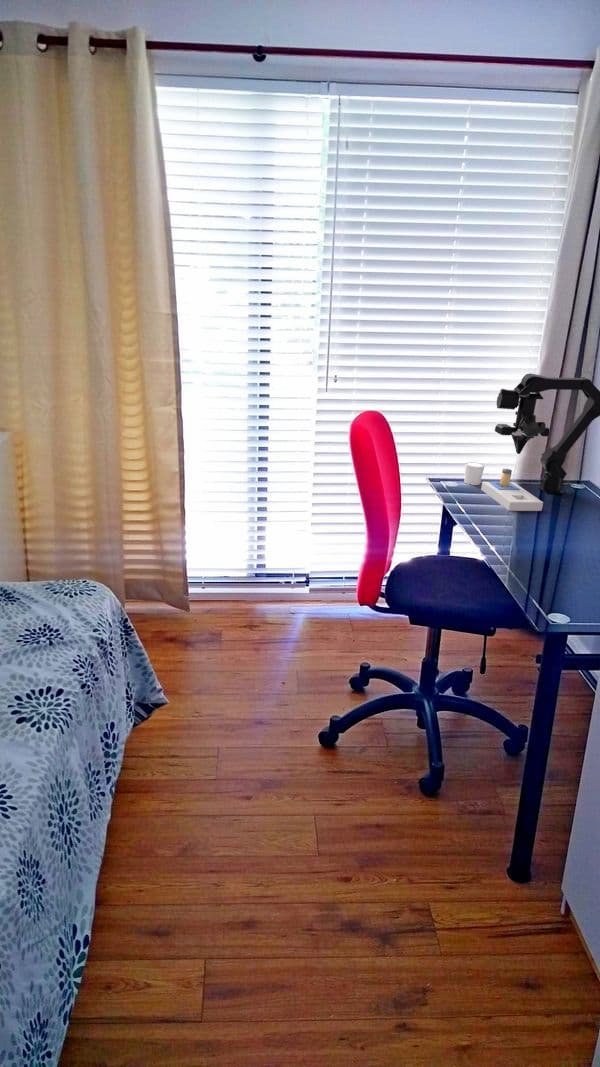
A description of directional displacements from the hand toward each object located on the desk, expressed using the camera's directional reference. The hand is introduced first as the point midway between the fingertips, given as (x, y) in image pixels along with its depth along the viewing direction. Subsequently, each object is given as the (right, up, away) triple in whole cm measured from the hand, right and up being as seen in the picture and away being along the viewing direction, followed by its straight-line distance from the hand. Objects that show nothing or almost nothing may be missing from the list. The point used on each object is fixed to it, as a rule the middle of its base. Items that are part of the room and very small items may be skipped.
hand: (518, 453), depth 279 cm
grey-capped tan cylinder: (-6, -15, -3) cm, 16 cm away
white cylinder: (-15, -10, +7) cm, 20 cm away
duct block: (-5, -17, -9) cm, 20 cm away
